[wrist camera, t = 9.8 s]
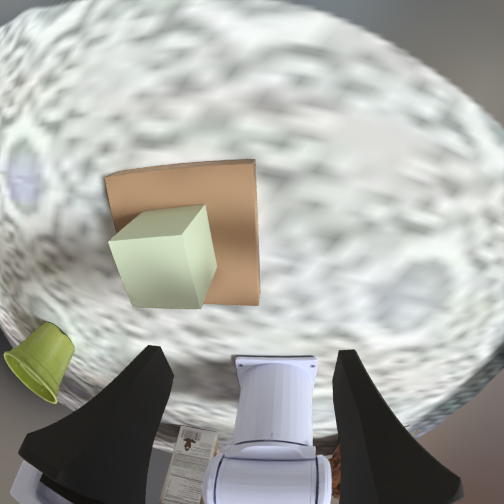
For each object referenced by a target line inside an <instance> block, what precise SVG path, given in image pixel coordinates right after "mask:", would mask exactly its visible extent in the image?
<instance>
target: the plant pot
mask: <svg viewBox="0 0 504 504" xmlns="http://www.w3.org/2000/svg"><path fill="white" fill-rule="evenodd" d="M73 354H74V346H73V344H72V342H71V341H70V339H69V338H68V337H67V335H64V334H63V333H62V332H61V331H60V330H59V328H58V327H57V326H55V325H54V324H52V323H49V322H45V323H44V324H42V325H41V326H40V327H39V328H38V329H37V330H36V331H35V332H33V333H32V334H31V335H30V336H29V337H28V338H27V339H26V340H24V341H23V342H22V343H21V344H20V345H19V346H18V347H17V348H13V349H12V350H11V351H10V352H5V353H4V358H5V360H6V362H7V364H8V365H9V367H10V368H11V370H12V371H13V372H14V374H15V375H16V376H17V377H18V378H19V379H20V380H21V381H22V382H23V383H24V384H25V385H26V386H27V387H28V388H29V389H31V390H32V391H33V392H34V393H36V394H37V395H38V396H40V397H41V398H43V399H45V400H46V401H48V402H50V403H54V404H56V403H57V401H58V399H57V395H58V392H59V385H60V383H61V381H62V378H63V376H64V374H65V371H66V369H67V367H68V365H69V363H70V360H71V358H72V356H73Z"/></svg>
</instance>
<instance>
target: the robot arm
mask: <svg viewBox="0 0 504 504" xmlns="http://www.w3.org/2000/svg"><path fill="white" fill-rule="evenodd" d="M235 364H236V369H237V374H238V379H239V384H240V389H241V392H240V398H239V404H238V410H237V416H236V422H235V428H234V434H233V440H232V445H226V449H225V453H219V454H217V455H216V456H215V457H214V458H213V459H211V461H210V462H209V464H208V466H207V468H206V471H205V475H204V480H203V490H202V493H203V501H204V504H330V500H331V486H332V479H331V467H330V462H329V461H328V460H327V459H326V458H325V457H324V456H323V455H316V449H315V446H313V433H312V393H313V388H314V383H315V377H316V372H317V366H318V359H317V358H315V357H301V358H266V357H237V358H236V360H235ZM173 378H174V374H173V372H172V370H171V368H170V366H169V364H168V362H167V360H166V357H165V355H164V353H163V351H162V349H161V346H152V345H148V346H147V347H146V348H145V349H144V350H143V351H142V352H141V353H140V354H139V355H138V356H137V357H136V358H135V359H134V360H133V361H132V362H131V363H130V364H129V365H128V366H127V367H126V368H125V369H124V370H123V371H122V372H121V373H120V374H119V375H118V376H117V377H116V378H115V379H114V380H113V381H112V382H111V383H110V384H109V385H108V386H106V387H105V388H104V389H103V390H102V391H101V392H100V393H99V394H98V395H96V396H95V397H94V398H93V399H91V400H90V401H89V402H87V403H86V404H85V405H83V406H82V407H81V408H79V409H78V410H76V411H74V412H73V413H71V414H70V415H68V416H66V417H65V418H63V419H61V420H59V421H58V422H56V423H53V424H52V425H49V426H47V427H45V428H42V429H40V430H37V431H34V432H31V433H28V434H27V435H26V437H25V439H24V441H23V443H22V445H21V447H20V449H19V452H18V453H19V455H20V456H21V457H22V458H23V459H25V460H26V461H27V462H28V463H27V462H26V461H23V462H22V464H21V467H20V469H19V471H18V474H17V476H16V479H15V481H14V483H13V486H12V489H11V491H10V494H11V495H12V496H13V497H14V498H15V499H16V500H17V501H18V502H19V503H20V504H145V495H146V482H147V473H148V466H149V460H150V455H151V451H152V446H153V442H154V438H155V435H156V432H157V429H158V427H159V424H160V421H161V418H162V415H163V413H164V410H165V407H166V404H167V402H168V399H169V396H170V392H171V387H172V382H173ZM332 383H333V403H334V410H335V416H336V423H337V430H338V437H339V444H340V455H341V478H340V499H339V504H454V503H456V502H458V501H460V500H462V499H463V498H464V491H463V485H462V482H461V478H460V477H459V476H457V475H456V474H454V473H453V472H451V471H450V470H449V469H447V468H446V467H445V466H443V465H442V464H441V463H440V462H439V461H437V460H436V459H435V458H434V457H433V456H432V455H430V454H429V453H428V452H427V451H426V450H425V449H424V448H423V447H422V446H421V445H420V444H419V443H418V442H417V441H416V440H415V439H414V438H413V436H412V435H411V434H410V433H409V432H408V431H407V430H406V428H405V427H404V426H403V425H402V424H401V422H400V421H399V420H398V419H397V417H396V416H395V415H394V413H393V412H392V411H391V409H390V408H389V406H388V405H387V403H386V402H385V400H384V399H383V397H382V396H381V394H380V393H379V391H378V390H377V388H376V386H375V385H374V383H373V382H372V380H371V378H370V376H369V375H368V373H367V371H366V369H365V367H364V366H363V364H362V362H361V360H360V358H359V356H358V354H357V352H356V351H355V350H354V349H352V350H339V352H338V357H337V362H336V366H335V371H334V375H333V380H332ZM29 463H30V464H31V465H30V464H29ZM33 466H34V467H33ZM37 469H38V470H37Z"/></svg>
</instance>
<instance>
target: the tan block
mask: <svg viewBox="0 0 504 504" xmlns="http://www.w3.org/2000/svg"><path fill="white" fill-rule="evenodd" d="M105 182H106V187H107V192H108V197H109V202H110V207H111V212H112V216H113V221H114V225H115V229H116V233H118V232H119V231H120V230H122V229H123V228H124V227H125V226H126V225H127V224H129V223H130V222H131V221H132V220H133V219H135V218H136V217H137V216H138V215H139V214H141V213H142V212H144V211H151V210H159V209H167V208H175V207H184V206H193V205H203V204H205V205H206V211H207V216H208V222H209V227H210V233H211V238H212V243H213V248H214V253H215V258H216V263H217V269H216V271H215V274H214V276H213V279H212V281H211V284H210V286H209V289H208V292H207V294H206V297H205V299H204V302H203V304H221V305H250V306H259V298H260V264H259V237H258V212H257V187H256V164H255V159H242V160H221V161H205V162H192V163H181V164H171V165H162V166H153V167H145V168H138V169H131V170H124V171H118V172H116V173H114V174H112V175H110V176H107V177H105Z"/></svg>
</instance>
